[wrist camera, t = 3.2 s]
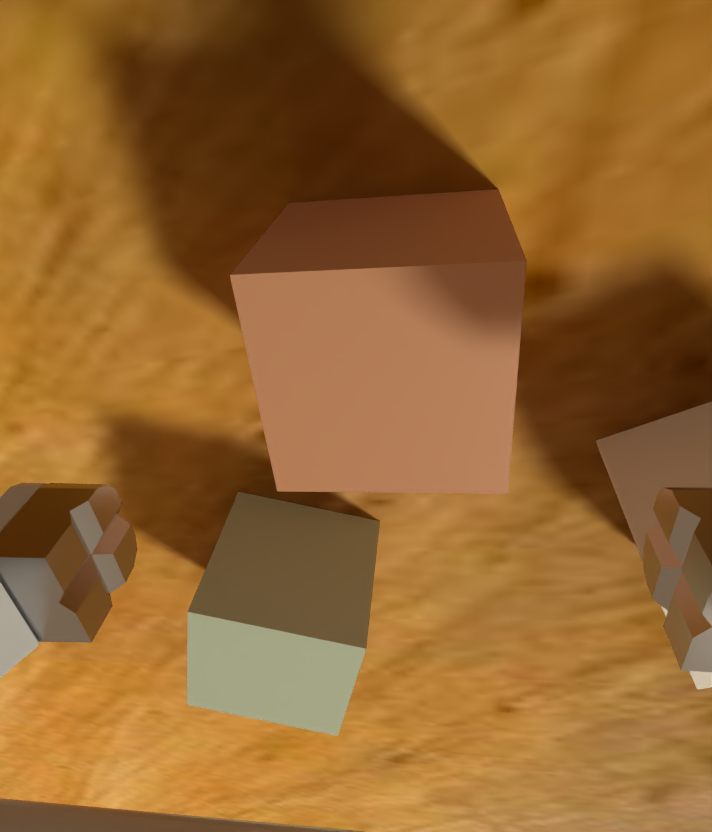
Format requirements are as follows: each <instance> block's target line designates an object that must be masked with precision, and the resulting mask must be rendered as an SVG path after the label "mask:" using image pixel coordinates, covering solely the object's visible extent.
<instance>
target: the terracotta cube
mask: <svg viewBox="0 0 712 832" xmlns="http://www.w3.org/2000/svg"><path fill="white" fill-rule="evenodd" d="M526 263H527V260H526V258H525V255H524V253H523V250H522V248H521V245H520V243H519V240H518V238H517V235H516V233H515V230H514V227H513V225H512V222H511V220H510V217H509V215H508V212H507V210H506V207H505V205H504V202H503V200H502V197H501V195H500V192H499V190H498V189H491V190H476V191H461V192H446V193H431V194H415V195H400V196H385V197H370V198H355V199H339V200H324V201H309V202H294V203H288V205H287V206H286V207H285V208H284V209H283V211H282V212H281V213H280V214H279V215H278V217H277V218H276V219H275V220H274V222H273V223H272V224H271V225H270V226H269V228H268V229H267V230H266V231H265V233H264V234H263V235H262V236H261V237H260V239H259V240H258V241H257V242H256V243H255V245H254V246H253V247H252V248H251V250H250V251H249V252H248V253H247V254H246V256H245V257H244V258H243V259H242V261H241V262H240V263H239V264H238V265H237V267H236V268H235V269H234V270H233V271H232V273H231V274H230V279H231V283H232V288H233V292H234V297H235V302H236V306H237V311H238V315H239V320H240V324H241V329H242V333H243V338H244V342H245V347H246V352H247V356H248V361H249V365H250V370H251V374H252V379H253V383H254V388H255V392H256V397H257V402H258V406H259V411H260V415H261V420H262V424H263V429H264V433H265V438H266V443H267V447H268V452H269V456H270V461H271V465H272V470H273V474H274V479H275V483H276V488H277V491H283V492H389V493H495V494H508V487H509V474H510V462H511V449H512V437H513V425H514V412H515V400H516V387H517V375H518V363H519V350H520V338H521V325H522V313H523V301H524V288H525V276H526Z"/></svg>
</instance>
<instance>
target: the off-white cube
mask: <svg viewBox="0 0 712 832" xmlns="http://www.w3.org/2000/svg"><path fill="white" fill-rule="evenodd" d="M596 444H597V446H598V449H599V452H600V454H601V457H602V459H603V462H604V464H605V467H606V469H607V472H608V474H609V477H610V480H611V482H612V485H613V487H614V490H615V492H616V495H617V497H618V500H619V503H620V505H621V508H622V510H623V513H624V515H625V518H626V520H627V523H628V525H629V528H630V531H631V533H632V536H633V538H634V541H635V543H636V546H637V548H638V551H639V554H640V556H641V559H642V561H643V547H644V543H645V538H646V534H647V532H648V531H649V530H650V529H652V528H653V527H654V526H656V525H657V524H658V523H659V521H658V519H657V517H656V515H655V512H654V510H653V507H654V504H655V500H656V497H657V494H658V493H659V492H660V490H661V489H662V487H712V402H709V403H706V404H703V405H700V406H697V407H694V408H691V409H688V410H685V411H682V412H679V413H676V414H673V415H670V416H667V417H664V418H661V419H658V420H656V421H653V422H650V423H647V424H644V425H641V426H638V427H635V428H632V429H629V430H626V431H623V432H620V433H617V434H614V435H611V436H608V437H605V438H602V439H599V440H596ZM662 609H663V611H664V613H665V616H667V612H668V611H667V610H666V609H665V608H664V607H662ZM690 674H691V676H692V678H693V681H694V683H695V685H696V688H697V690H698V689H703V688H709V687H712V672H699V671H690Z"/></svg>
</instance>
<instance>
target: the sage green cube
mask: <svg viewBox="0 0 712 832" xmlns="http://www.w3.org/2000/svg"><path fill="white" fill-rule="evenodd" d="M379 525H380V521H377V520H372V519H367V518H363V517H358V516H353V515H348V514H343V513H339V512H334V511H329V510H324V509H319V508H315V507H310V506H305V505H300V504H295V503H291V502H286V501H281V500H276V499H271V498H267V497H262V496H257V495H252V494H248V493H243V492H238V493H237V496H236V498H235V501H234V503H233V505H232V508H231V510H230V512H229V515H228V517H227V520H226V522H225V524H224V527H223V529H222V531H221V534H220V536H219V539H218V541H217V543H216V546H215V548H214V551H213V553H212V555H211V558H210V560H209V562H208V565H207V567H206V570H205V572H204V574H203V577H202V579H201V581H200V584H199V586H198V589H197V591H196V593H195V596H194V598H193V600H192V603H191V605H190V608H189V610H188V650H187V705H191V706H196V707H200V708H205V709H210V710H215V711H220V712H225V713H230V714H234V715H239V716H244V717H249V718H254V719H259V720H263V721H268V722H273V723H278V724H283V725H288V726H293V727H297V728H302V729H307V730H312V731H317V732H322V733H326V734H331V735H336V736H338V734H339V731H340V728H341V725H342V722H343V719H344V715H345V712H346V709H347V706H348V703H349V700H350V697H351V694H352V691H353V688H354V685H355V682H356V678H357V675H358V672H359V669H360V666H361V663H362V660H363V657H364V654H365V651H366V645H367V636H368V627H369V618H370V608H371V599H372V590H373V581H374V571H375V562H376V553H377V544H378V534H379Z"/></svg>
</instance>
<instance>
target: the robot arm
mask: <svg viewBox="0 0 712 832" xmlns="http://www.w3.org/2000/svg"><path fill="white" fill-rule="evenodd" d="M121 506H122V502H121V500H120V498H119V496H118V493H117V491H116V489H115V488H114V487H111V486H108V485H102V484H68V483H49V484H45V483H20V484H17V485H14V486H12V487H10V488H9V489H8V490H7V491H6V492H5V493H4V494H3V495H2V496H1V497H0V678H1V677H2V676H3V675H5V674H6V673H7V672H8V671H9V670H10V669H12V668H13V667H14V666H15V665H16V664H17V663H19V662H20V661H21V660H22V659H23V658H25V657H26V656H27V655H28V654H29V653H30V652H32V651H33V650H34V649H35V648H36V647H37V646H39V644H40V643H39V642H92V641H93V639H94V637H95V636H96V634H97V632H98V630H99V629H100V627H101V625H102V623H103V621H104V620H105V618H106V616H107V614H108V613H109V611H110V609H111V607H112V606H113V605H112V601H111V596H110V593H111V592H113V591H114V590H116V589H117V588H118V587H120V586H121V585H123V584H124V583H125V582H126V581H127V579H128V577H129V575H130V573H131V571H132V569H133V567H134V563H135V558H136V552H137V544H136V536H135V533H134V531H133V528H132V526H131V524H130V523H129V522H127V521H126V520H125V519H124V518H122V517H121V516H120V515H119V514H118V512H119V510H120V508H121ZM653 510H654V512H655V515H656V517H657V519H658V521H659V523H658V524H657V525H656V526H654V527H653V528H652V529H650V530H649V531H648V532H647V534H646V538H645V543H644V547H643V569H644V573H645V578H646V582H647V585H648V588H649V591H650V593H651V596H652V599H654V600H655V601H656V602H657V603H659V604H660V605H661V606H662V607H664V608H665V609H666V610H667V611H668V612H667V616H666V619H665V622H664V625H663V627H664V629H665V632H666V634H667V637H668V639H669V641H670V644H671V646H672V649H673V651H674V654H675V656H676V659H677V661H678V664H679V666H680V669H681V670H685V671H699V672H712V487H662V489H661V490H660V492H659V493H658V494H657V497H656V500H655V504H654V507H653ZM0 832H363V831H352V830H341V829H330V828H319V827H308V826H297V825H287V824H276V823H265V822H254V821H243V820H232V819H221V818H210V817H199V816H188V815H177V814H166V813H155V812H144V811H133V810H122V809H111V808H100V807H89V806H78V805H67V804H56V803H45V802H34V801H23V800H12V799H1V798H0Z"/></svg>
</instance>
